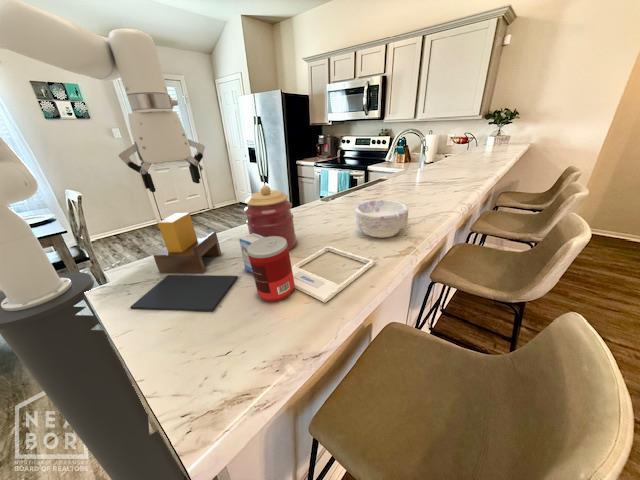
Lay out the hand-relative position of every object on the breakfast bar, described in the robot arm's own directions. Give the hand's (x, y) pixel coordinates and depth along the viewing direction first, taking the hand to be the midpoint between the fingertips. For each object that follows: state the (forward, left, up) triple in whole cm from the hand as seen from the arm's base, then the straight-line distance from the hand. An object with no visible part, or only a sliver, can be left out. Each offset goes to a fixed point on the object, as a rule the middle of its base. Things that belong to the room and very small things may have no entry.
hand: (175, 186), depth 62 cm
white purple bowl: (+49, +19, -21) cm, 57 cm away
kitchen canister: (+18, +10, -21) cm, 29 cm away
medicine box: (+19, -4, -21) cm, 29 cm away
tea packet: (-3, 0, -16) cm, 16 cm away
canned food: (+25, -12, -21) cm, 35 cm away
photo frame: (+35, -4, -21) cm, 41 cm away
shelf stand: (-2, 0, -21) cm, 21 cm away
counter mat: (+5, -13, -21) cm, 25 cm away
